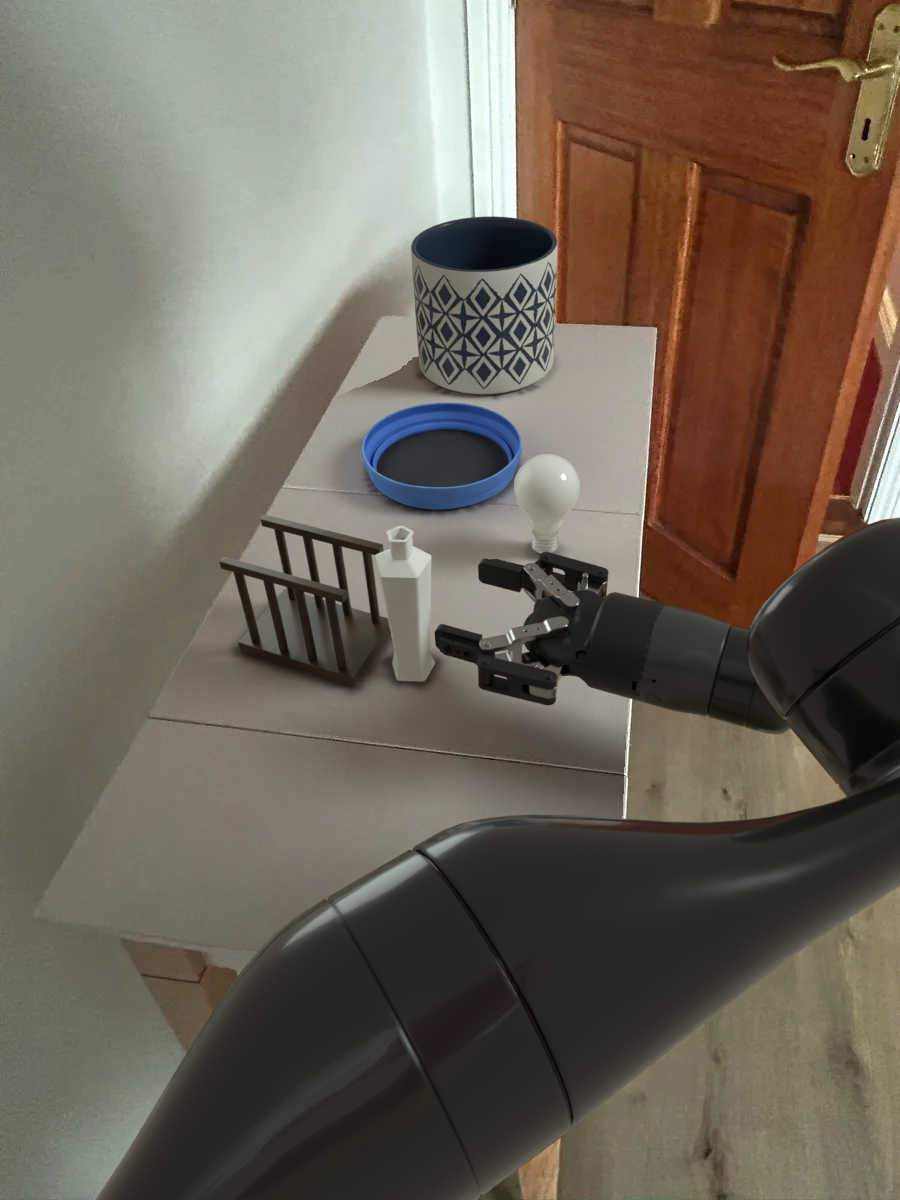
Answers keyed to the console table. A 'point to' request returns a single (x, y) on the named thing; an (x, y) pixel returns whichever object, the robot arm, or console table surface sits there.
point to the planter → (485, 303)
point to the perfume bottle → (407, 603)
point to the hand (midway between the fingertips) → (459, 601)
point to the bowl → (442, 455)
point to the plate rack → (312, 609)
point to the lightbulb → (546, 497)
